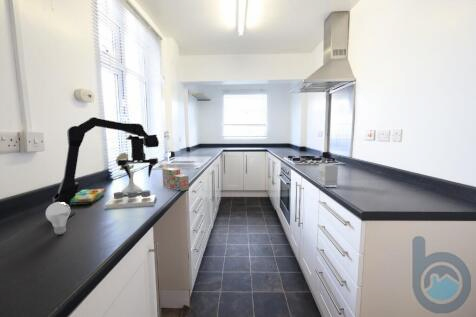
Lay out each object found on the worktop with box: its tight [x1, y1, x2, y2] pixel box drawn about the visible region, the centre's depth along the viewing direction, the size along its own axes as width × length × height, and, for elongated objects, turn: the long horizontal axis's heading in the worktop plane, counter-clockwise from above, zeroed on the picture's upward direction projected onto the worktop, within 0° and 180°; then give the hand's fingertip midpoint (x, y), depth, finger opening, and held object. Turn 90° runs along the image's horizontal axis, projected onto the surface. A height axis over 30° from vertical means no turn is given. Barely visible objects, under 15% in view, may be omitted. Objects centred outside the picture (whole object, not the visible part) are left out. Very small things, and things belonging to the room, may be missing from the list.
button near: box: [113, 191, 125, 199], centre depth 114 cm, size 4×4×2 cm
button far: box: [140, 190, 151, 197], centre depth 117 cm, size 4×4×2 cm
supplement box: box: [318, 163, 339, 186], centre depth 149 cm, size 9×9×15 cm
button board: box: [104, 194, 157, 210], centre depth 115 cm, size 12×22×2 cm, turn 103°
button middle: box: [127, 191, 138, 198], centre depth 116 cm, size 4×4×2 cm
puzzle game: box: [70, 188, 107, 205], centre depth 120 cm, size 12×5×20 cm
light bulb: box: [45, 202, 72, 236], centre depth 80 cm, size 7×7×12 cm
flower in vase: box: [115, 152, 143, 196], centre depth 130 cm, size 13×11×25 cm
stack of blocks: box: [161, 167, 190, 192], centre depth 147 cm, size 21×6×12 cm, turn 48°
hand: (139, 177), depth 117 cm, fingers open, 9 cm apart
